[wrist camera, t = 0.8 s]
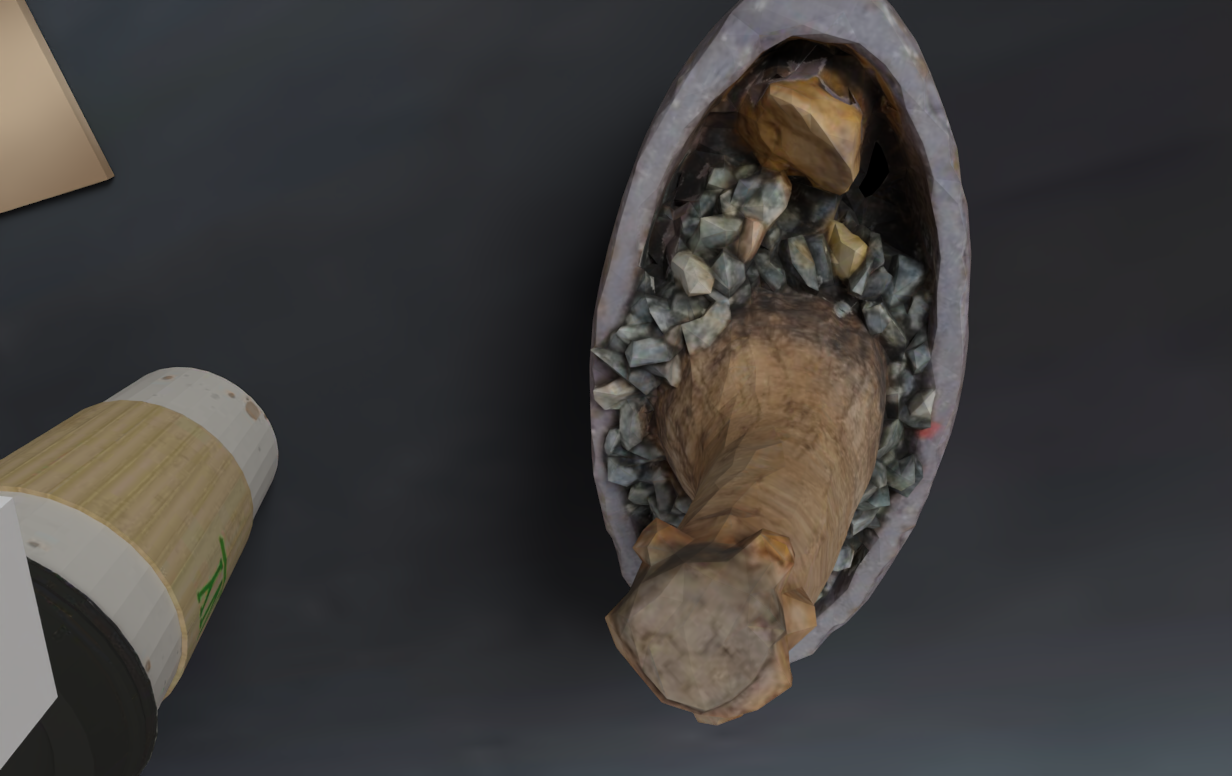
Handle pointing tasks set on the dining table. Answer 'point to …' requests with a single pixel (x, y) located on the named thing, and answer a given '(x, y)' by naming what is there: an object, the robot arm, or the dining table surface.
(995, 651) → the dining table surface
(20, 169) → the mat
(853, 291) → the planter
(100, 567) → the coffee cup
